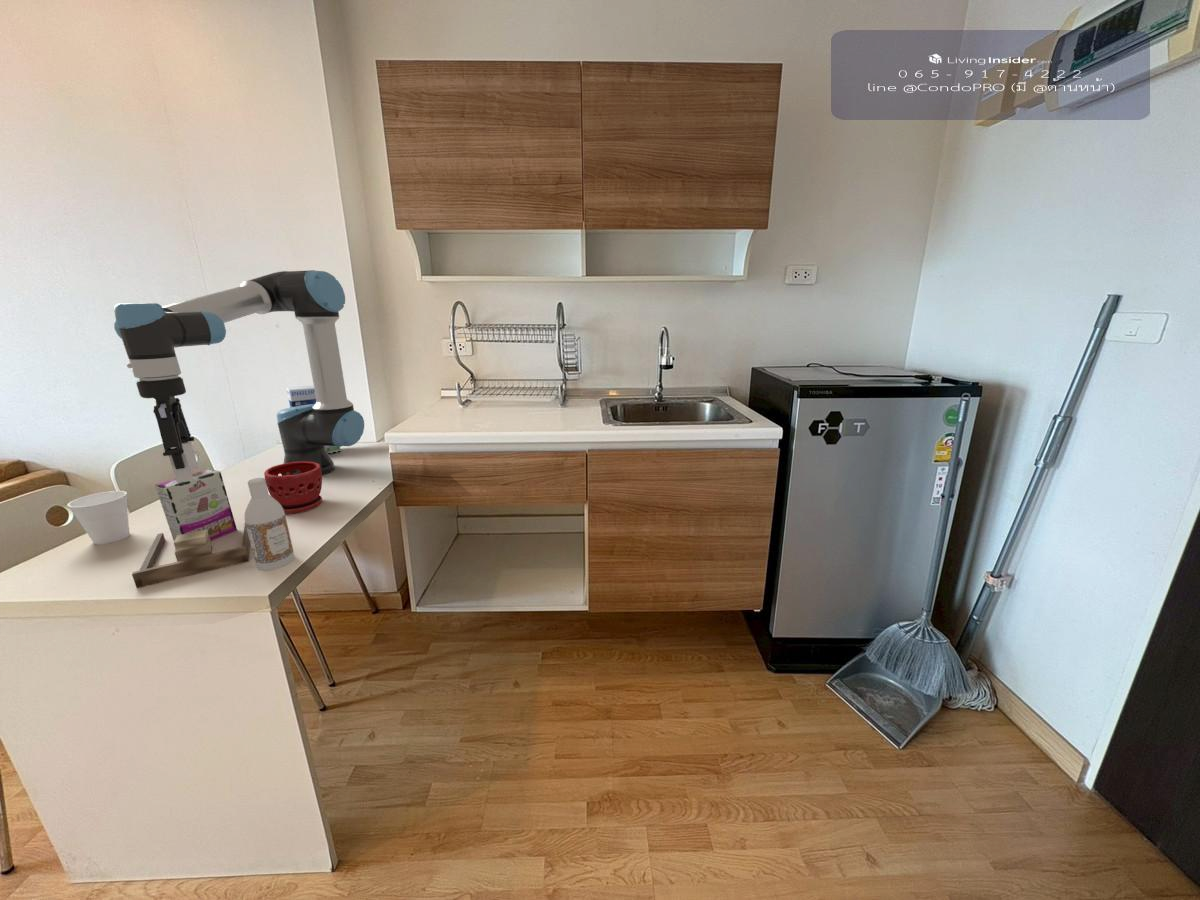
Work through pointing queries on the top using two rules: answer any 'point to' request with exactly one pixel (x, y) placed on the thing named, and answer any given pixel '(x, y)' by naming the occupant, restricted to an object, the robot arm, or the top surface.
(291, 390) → the string lights box
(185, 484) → the candy bar box
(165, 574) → the wooden frame
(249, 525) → the bath foam
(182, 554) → the offcut mid
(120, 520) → the cup
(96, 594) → the top surface
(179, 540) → the offcut top
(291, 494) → the plant pot
